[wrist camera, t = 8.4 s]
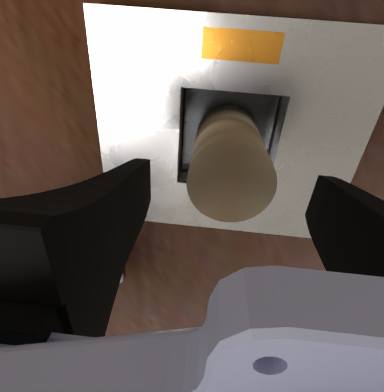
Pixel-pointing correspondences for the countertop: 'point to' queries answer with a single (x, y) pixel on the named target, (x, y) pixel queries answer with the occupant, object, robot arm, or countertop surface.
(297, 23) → the light grey flat block
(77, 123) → the countertop surface
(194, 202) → the barrel peg
